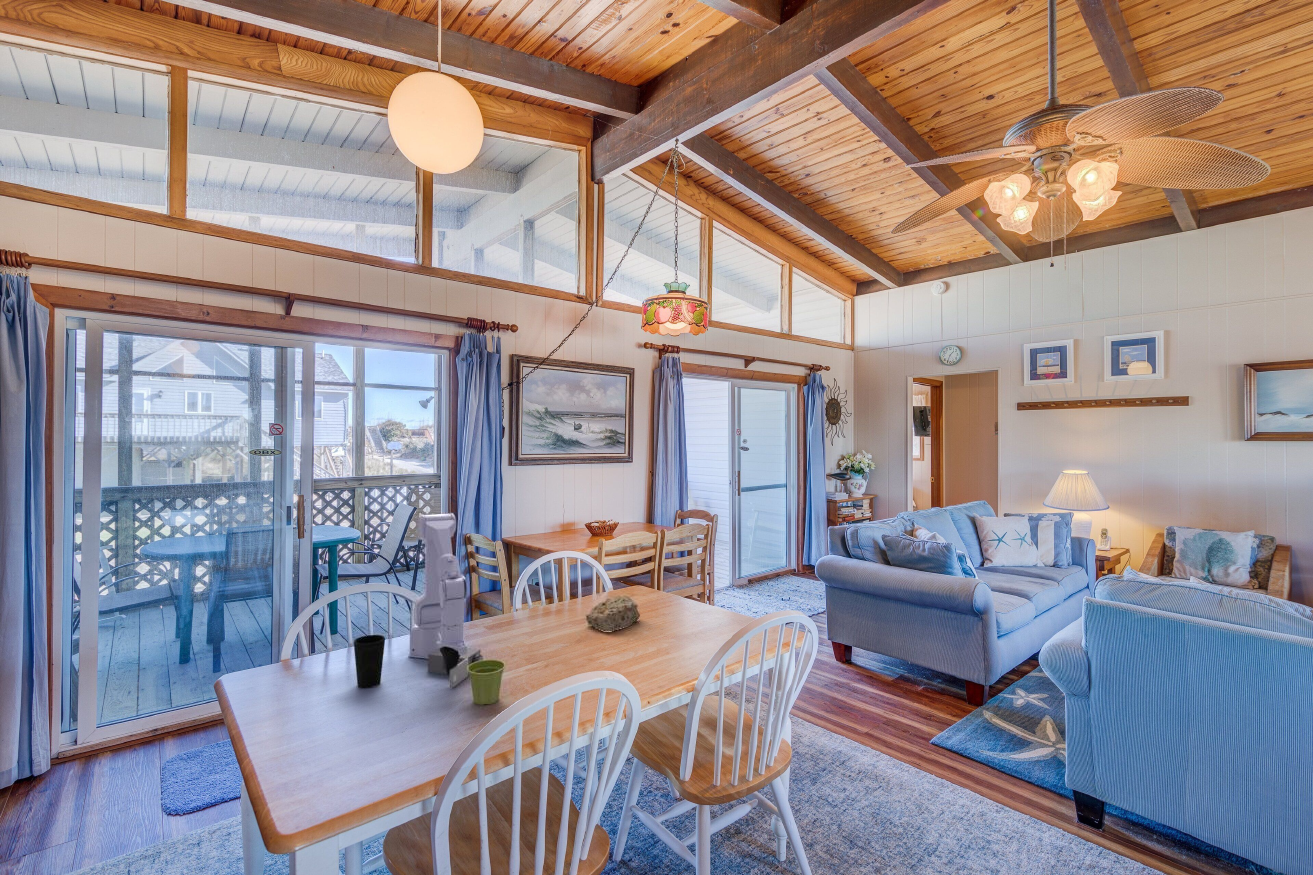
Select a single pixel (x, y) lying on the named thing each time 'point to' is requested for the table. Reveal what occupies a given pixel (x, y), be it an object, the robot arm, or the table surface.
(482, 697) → the plant pot
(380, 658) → the cup
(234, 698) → the table surface
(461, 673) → the side door
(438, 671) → the camera body
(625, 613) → the rock
